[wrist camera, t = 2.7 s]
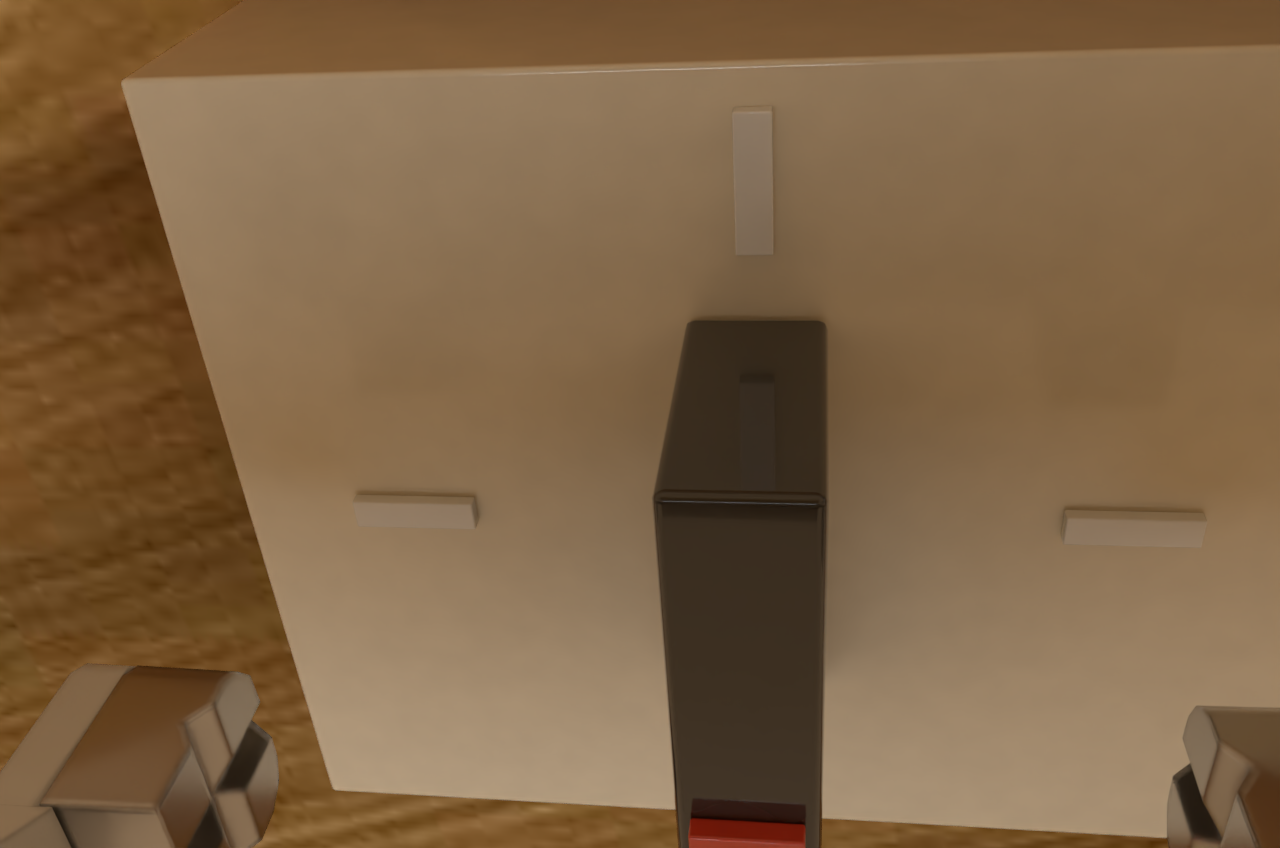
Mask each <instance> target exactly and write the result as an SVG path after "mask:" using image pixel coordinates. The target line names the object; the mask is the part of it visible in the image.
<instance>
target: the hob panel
mask: <svg viewBox="0 0 1280 848" xmlns="http://www.w3.org/2000/svg"><path fill="white" fill-rule="evenodd" d="M121 86H122V89H123V93H124V96H125V99H126V103H127V106H128V109H129V113H130V116H131V119H132V123H133V126H134V129H135V133H136V136H137V139H138V143H139V146H140V149H141V153H142V156H143V159H144V163H145V166H146V169H147V173H148V176H149V179H150V183H151V186H152V189H153V193H154V196H155V199H156V203H157V206H158V209H159V213H160V216H161V219H162V223H163V226H164V229H165V233H166V236H167V239H168V243H169V246H170V249H171V253H172V256H173V259H174V263H175V266H176V269H177V273H178V276H179V279H180V283H181V286H182V289H183V293H184V296H185V299H186V303H187V306H188V309H189V313H190V316H191V319H192V323H193V326H194V329H195V333H196V336H197V339H198V343H199V346H200V349H201V353H202V356H203V359H204V363H205V366H206V369H207V373H208V376H209V379H210V383H211V386H212V389H213V393H214V396H215V399H216V403H217V406H218V409H219V413H220V416H221V419H222V423H223V426H224V429H225V433H226V436H227V439H228V443H229V446H230V449H231V453H232V456H233V459H234V463H235V466H236V469H237V473H238V476H239V479H240V483H241V486H242V489H243V493H244V496H245V499H246V503H247V506H248V509H249V513H250V516H251V519H252V523H253V526H254V529H255V533H256V536H257V539H258V543H259V546H260V549H261V553H262V556H263V559H264V563H265V566H266V569H267V573H268V576H269V579H270V583H271V586H272V589H273V593H274V596H275V599H276V603H277V606H278V609H279V613H280V616H281V619H282V623H283V626H284V629H285V632H286V636H287V639H288V642H289V646H290V649H291V652H292V656H293V659H294V662H295V666H296V669H297V672H298V676H299V679H300V682H301V686H302V689H303V692H304V696H305V699H306V702H307V706H308V709H309V712H310V716H311V719H312V722H313V726H314V729H315V732H316V736H317V739H318V742H319V746H320V749H321V752H322V756H323V759H324V762H325V766H326V769H327V772H328V776H329V779H330V782H331V786H332V788H333V789H334V790H336V791H353V792H370V793H388V794H405V795H422V796H440V797H457V798H475V799H492V800H509V801H527V802H544V803H562V804H579V805H596V806H614V807H631V808H648V809H666V810H675V797H674V784H673V770H672V757H671V744H670V731H669V718H668V705H667V692H666V679H665V665H664V652H663V639H662V626H661V613H660V600H659V587H658V574H657V560H656V547H655V534H654V521H653V508H652V495H653V489H654V484H655V479H656V474H657V469H658V464H659V459H660V454H661V449H662V444H663V439H664V433H665V428H666V423H667V418H668V413H669V408H670V403H671V398H672V393H673V388H674V383H675V377H676V372H677V367H678V362H679V357H680V352H681V347H682V342H683V337H684V332H685V328H686V326H687V323H688V322H690V321H694V320H819V321H822V322H824V323H825V325H826V327H827V329H828V455H829V513H828V560H827V607H826V654H825V701H824V747H823V794H822V819H840V820H857V821H875V822H892V823H909V824H927V825H944V826H961V827H979V828H996V829H1014V830H1031V831H1048V832H1066V833H1083V834H1101V835H1118V836H1135V837H1153V838H1167V801H1168V796H1169V791H1170V787H1171V782H1172V777H1173V775H1175V774H1176V773H1177V772H1179V771H1180V770H1181V769H1183V768H1184V767H1185V766H1187V765H1188V764H1189V763H1190V761H1189V758H1188V755H1187V751H1186V748H1185V745H1184V742H1183V739H1182V737H1183V734H1184V730H1185V726H1186V722H1187V719H1188V716H1189V715H1190V713H1191V712H1192V711H1193V709H1194V708H1195V706H1196V705H1198V706H1236V707H1274V708H1280V0H243V1H242V2H240V3H238V4H237V5H235V6H234V7H232V8H231V9H229V10H228V11H226V12H225V13H223V14H222V15H220V16H219V17H217V18H216V19H214V20H212V21H211V22H209V23H208V24H206V25H205V26H203V27H202V28H200V29H199V30H197V31H196V32H194V33H193V34H191V35H190V36H188V37H187V38H185V39H183V40H182V41H180V42H179V43H177V44H176V45H174V46H173V47H171V48H170V49H168V50H167V51H165V52H164V53H162V54H161V55H159V56H157V57H156V58H154V59H153V60H151V61H150V62H148V63H147V64H145V65H144V66H142V67H141V68H139V69H138V70H136V71H135V72H133V73H132V74H130V75H128V76H127V77H125V78H124V79H122V82H121Z"/></svg>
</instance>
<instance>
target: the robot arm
mask: <svg viewBox="0 0 1280 848" xmlns="http://www.w3.org/2000/svg"><path fill="white" fill-rule="evenodd" d="M259 703H260V700H259V698H258V695H257V692H256V690H255V687H254V684H253V682H252V679H251V677H250V675H247V674H243V673H240V672H234V671H218V670H202V669H186V668H170V667H154V666H121V665H105V664H89V663H87V664H85V665H83V666H82V667H80V668H78V669H77V670H75V671H73V672H72V673H71V674H70V675H69V676H68V677H67V679H66V680H65V681H64V683H63V684H62V686H61V687H60V688H59V690H58V691H57V693H56V694H55V696H54V697H53V698H52V700H51V701H50V703H49V704H48V705H47V707H46V708H45V710H44V711H43V712H42V714H41V715H40V717H39V718H38V720H37V721H36V722H35V724H34V725H33V727H32V728H31V729H30V731H29V732H28V734H27V735H26V736H25V738H24V739H23V741H22V742H21V743H20V745H19V746H18V748H17V749H16V751H15V752H14V753H13V755H12V756H11V758H10V759H9V760H8V762H7V763H6V765H5V766H4V767H3V769H2V770H1V772H0V848H252V847H254V846H255V845H256V844H257V843H259V842H260V841H261V840H262V838H263V836H264V834H265V831H266V829H267V826H268V824H269V822H270V819H271V817H272V815H273V812H274V806H275V800H276V795H277V789H278V783H279V773H278V759H277V754H276V750H275V747H274V744H273V740H272V737H271V736H270V735H269V734H267V733H266V732H265V731H264V730H263V729H262V728H260V727H259V726H258V725H257V724H256V723H254V722H253V721H252V720H251V719H252V717H253V715H254V713H255V711H256V709H257V707H258V705H259ZM1182 739H1183V742H1184V745H1185V748H1186V751H1187V755H1188V758H1189V761H1190V763H1189V764H1188V765H1187V766H1185V767H1184V768H1183V769H1181V770H1180V771H1179V772H1177V773H1176V774H1175V775H1173V777H1172V782H1171V787H1170V791H1169V796H1168V801H1167V841H1168V847H1169V848H1280V708H1274V707H1236V706H1198V705H1196V706H1195V708H1194V709H1193V711H1192V712H1191V713H1190V715H1189V716H1188V719H1187V722H1186V726H1185V730H1184V734H1183V737H1182Z"/></svg>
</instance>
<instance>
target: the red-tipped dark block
mask: <svg viewBox="0 0 1280 848" xmlns="http://www.w3.org/2000/svg"><path fill="white" fill-rule="evenodd" d="M652 508H653V521H654V534H655V547H656V560H657V574H658V587H659V600H660V613H661V626H662V639H663V652H664V665H665V679H666V692H667V705H668V718H669V731H670V744H671V757H672V770H673V784H674V797H675V810H676V823H677V836H678V848H821V841H822V794H823V747H824V701H825V654H826V607H827V560H828V513H829V455H828V329H827V327H826V325H825V323H824V322H822V321H819V320H694V321H690V322H688V323H687V326H686V328H685V332H684V337H683V342H682V347H681V352H680V357H679V362H678V367H677V372H676V377H675V383H674V388H673V393H672V398H671V403H670V408H669V413H668V418H667V423H666V428H665V433H664V439H663V444H662V449H661V454H660V459H659V464H658V469H657V474H656V479H655V484H654V489H653V495H652Z"/></svg>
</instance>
